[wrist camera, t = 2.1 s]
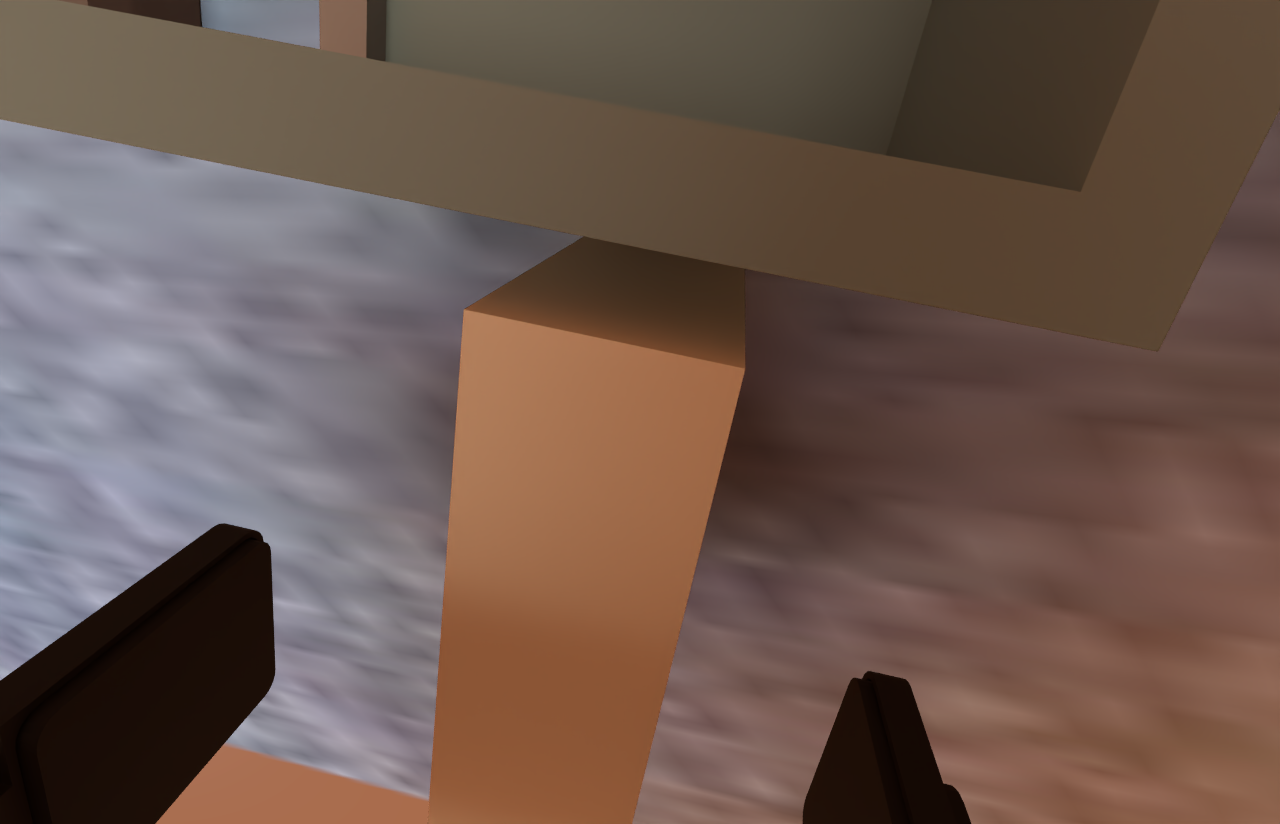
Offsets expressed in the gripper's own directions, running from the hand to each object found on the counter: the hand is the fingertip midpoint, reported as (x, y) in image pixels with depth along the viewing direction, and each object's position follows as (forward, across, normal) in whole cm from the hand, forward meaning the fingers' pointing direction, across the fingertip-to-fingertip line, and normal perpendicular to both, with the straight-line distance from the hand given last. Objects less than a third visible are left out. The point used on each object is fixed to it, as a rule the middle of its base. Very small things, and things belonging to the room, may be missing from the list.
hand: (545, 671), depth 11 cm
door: (+9, 0, -1) cm, 9 cm away
